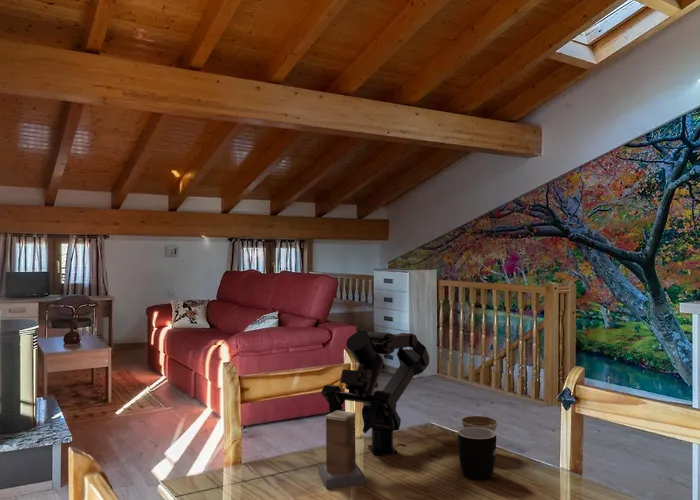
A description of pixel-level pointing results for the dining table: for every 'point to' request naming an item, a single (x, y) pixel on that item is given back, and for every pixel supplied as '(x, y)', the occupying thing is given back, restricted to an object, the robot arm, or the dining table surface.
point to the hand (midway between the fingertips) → (346, 429)
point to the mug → (477, 452)
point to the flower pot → (479, 422)
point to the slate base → (341, 478)
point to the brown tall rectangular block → (340, 442)
